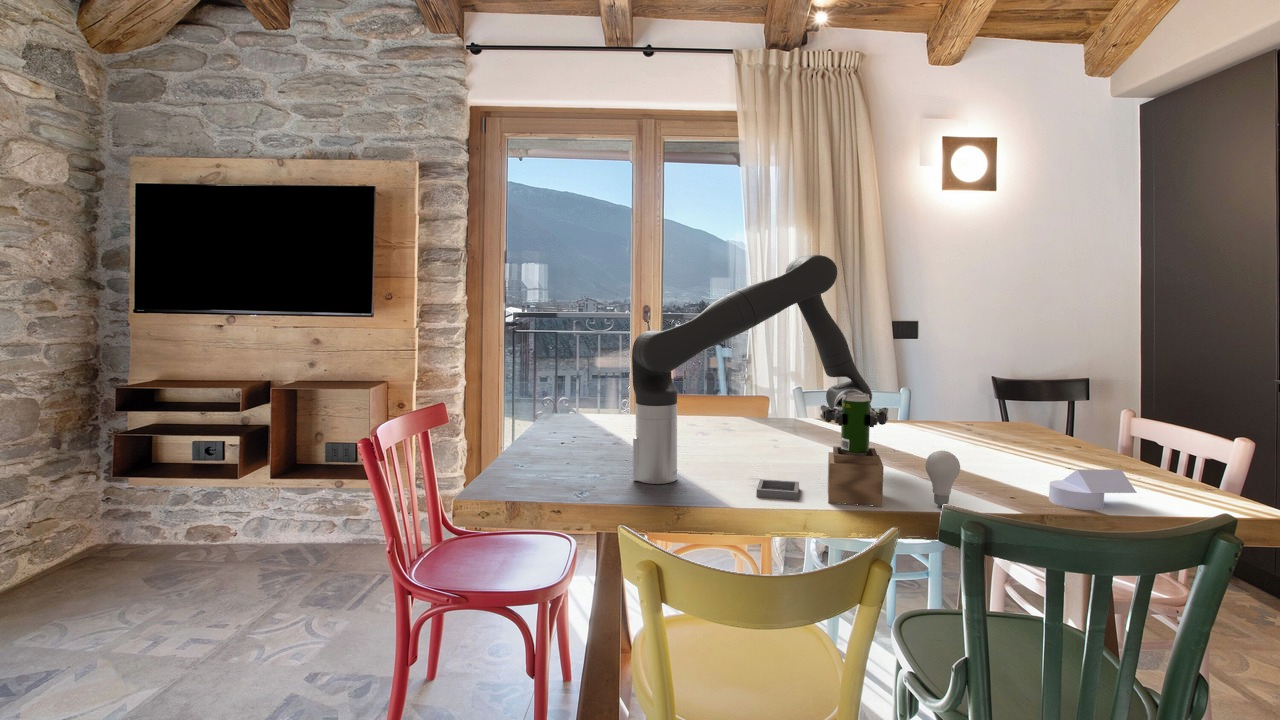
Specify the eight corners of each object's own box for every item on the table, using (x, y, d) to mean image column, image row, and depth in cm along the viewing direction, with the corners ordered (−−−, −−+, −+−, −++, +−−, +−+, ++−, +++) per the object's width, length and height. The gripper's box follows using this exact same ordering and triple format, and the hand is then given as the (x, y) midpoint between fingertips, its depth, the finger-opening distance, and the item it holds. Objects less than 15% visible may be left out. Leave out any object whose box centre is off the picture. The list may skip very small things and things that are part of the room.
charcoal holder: (756, 496, 135) (756, 489, 135) (759, 485, 143) (759, 479, 143) (797, 499, 133) (798, 492, 133) (798, 488, 141) (799, 481, 141)
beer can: (856, 458, 130) (858, 397, 129) (834, 452, 134) (836, 393, 133) (874, 454, 133) (876, 394, 132) (852, 449, 137) (854, 391, 136)
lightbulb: (956, 503, 130) (958, 448, 129) (960, 513, 124) (962, 455, 124) (922, 500, 132) (924, 446, 131) (925, 510, 126) (927, 453, 126)
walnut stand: (828, 503, 131) (829, 455, 130) (827, 489, 140) (828, 445, 140) (882, 507, 128) (883, 458, 127) (877, 492, 138) (879, 447, 137)
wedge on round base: (1103, 496, 135) (1039, 496, 135) (1105, 463, 135) (1040, 463, 135) (1135, 510, 126) (1067, 510, 126) (1138, 475, 126) (1068, 475, 126)
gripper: (818, 389, 148) (819, 401, 132) (887, 391, 145) (896, 403, 128) (818, 422, 149) (818, 438, 133) (886, 425, 145) (894, 442, 129)
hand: (856, 421), depth 131 cm, fingers closed on beer can, 5 cm apart
